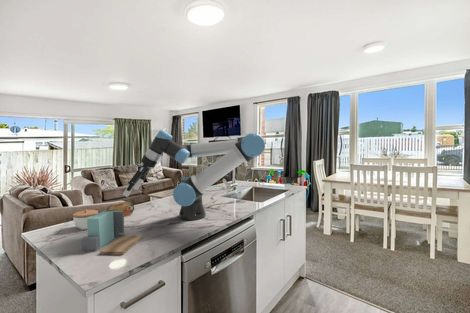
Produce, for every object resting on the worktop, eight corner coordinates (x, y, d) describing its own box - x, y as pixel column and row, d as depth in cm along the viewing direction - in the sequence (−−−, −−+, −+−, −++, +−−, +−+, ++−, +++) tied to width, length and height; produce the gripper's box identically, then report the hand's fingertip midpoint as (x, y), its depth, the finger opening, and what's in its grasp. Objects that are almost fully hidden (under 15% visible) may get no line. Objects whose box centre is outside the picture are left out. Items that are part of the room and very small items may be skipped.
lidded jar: (87, 223, 128) (86, 206, 128) (103, 225, 125) (102, 207, 125) (68, 230, 118) (67, 211, 118) (85, 232, 115) (84, 213, 115)
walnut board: (142, 238, 106) (142, 235, 106) (122, 254, 90) (122, 251, 90) (122, 238, 107) (122, 235, 107) (100, 254, 91) (100, 251, 91)
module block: (114, 238, 107) (113, 211, 107) (100, 247, 97) (98, 218, 97) (103, 237, 108) (102, 211, 107) (88, 247, 98) (87, 218, 97)
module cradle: (124, 234, 111) (123, 211, 111) (101, 250, 94) (100, 223, 94) (104, 234, 112) (103, 211, 111) (77, 250, 95) (75, 223, 94)
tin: (108, 220, 132) (107, 205, 132) (106, 219, 134) (105, 204, 134) (134, 214, 144) (134, 200, 143) (132, 213, 146) (131, 200, 145)
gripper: (151, 152, 136) (132, 183, 137) (136, 156, 111) (113, 194, 112) (163, 159, 136) (144, 190, 137) (150, 165, 112) (127, 202, 113)
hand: (130, 192), depth 125 cm, fingers open, 13 cm apart
